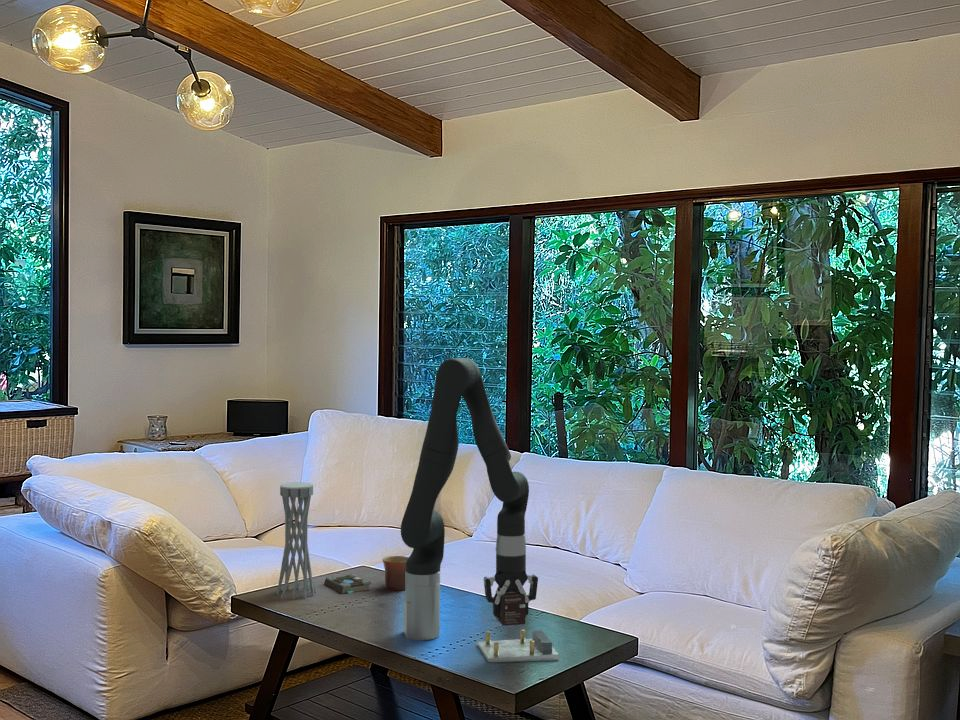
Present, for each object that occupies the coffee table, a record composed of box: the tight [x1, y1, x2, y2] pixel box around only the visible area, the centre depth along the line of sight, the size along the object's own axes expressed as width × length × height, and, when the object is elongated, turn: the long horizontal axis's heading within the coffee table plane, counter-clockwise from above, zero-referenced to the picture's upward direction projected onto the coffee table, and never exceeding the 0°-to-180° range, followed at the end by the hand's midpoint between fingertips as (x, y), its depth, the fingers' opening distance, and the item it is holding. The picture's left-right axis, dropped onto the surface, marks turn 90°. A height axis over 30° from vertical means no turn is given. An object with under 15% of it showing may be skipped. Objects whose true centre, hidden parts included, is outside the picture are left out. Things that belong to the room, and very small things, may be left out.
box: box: [496, 591, 526, 627], centre depth 244 cm, size 6×6×7 cm
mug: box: [382, 555, 409, 592], centre depth 303 cm, size 12×9×10 cm
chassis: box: [476, 629, 560, 663], centre depth 245 cm, size 18×13×4 cm
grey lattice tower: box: [275, 482, 317, 600], centre depth 290 cm, size 14×13×35 cm
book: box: [323, 573, 372, 595], centre depth 300 cm, size 20×12×5 cm, turn 34°
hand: (510, 617), depth 244 cm, fingers closed on box, 6 cm apart
